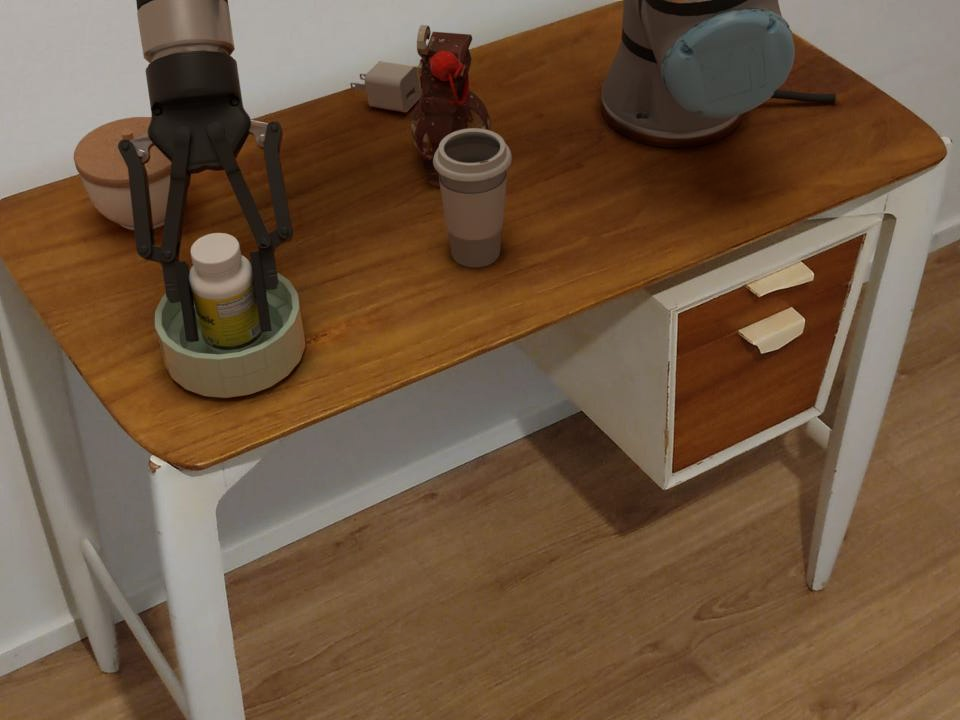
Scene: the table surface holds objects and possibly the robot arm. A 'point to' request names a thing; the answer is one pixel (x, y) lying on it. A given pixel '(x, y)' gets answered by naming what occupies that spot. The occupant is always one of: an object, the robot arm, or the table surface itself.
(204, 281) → the supplement bottle
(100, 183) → the trinket box
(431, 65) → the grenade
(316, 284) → the table surface
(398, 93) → the usb wall charger
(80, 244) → the table surface
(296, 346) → the sage bowl
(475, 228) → the cup
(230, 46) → the robot arm
